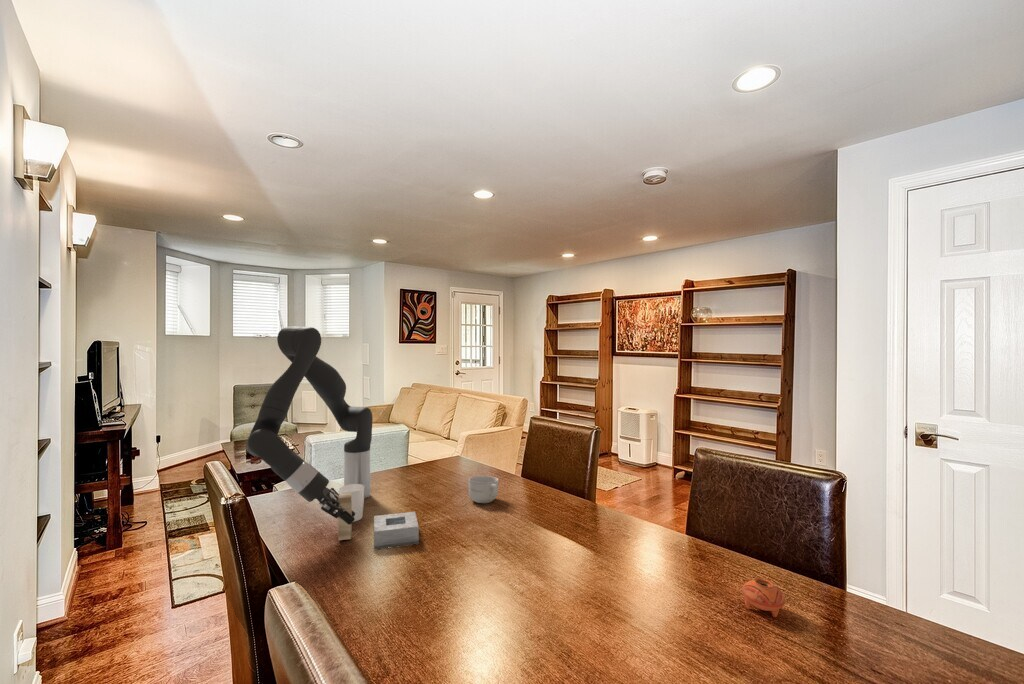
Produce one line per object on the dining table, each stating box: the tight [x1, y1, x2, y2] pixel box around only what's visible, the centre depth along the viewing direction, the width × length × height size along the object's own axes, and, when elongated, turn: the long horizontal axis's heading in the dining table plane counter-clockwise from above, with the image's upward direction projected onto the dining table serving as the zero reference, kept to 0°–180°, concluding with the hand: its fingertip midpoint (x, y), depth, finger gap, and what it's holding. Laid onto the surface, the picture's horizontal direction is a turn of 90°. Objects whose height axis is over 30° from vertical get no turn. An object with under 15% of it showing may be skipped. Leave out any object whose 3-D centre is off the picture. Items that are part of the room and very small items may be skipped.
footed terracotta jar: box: [741, 577, 786, 618], centre depth 95 cm, size 8×8×7 cm
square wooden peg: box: [337, 493, 353, 541], centre depth 131 cm, size 3×3×12 cm
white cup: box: [338, 484, 365, 523], centre depth 147 cm, size 8×8×10 cm
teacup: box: [468, 475, 499, 504], centre depth 162 cm, size 14×11×8 cm
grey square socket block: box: [373, 511, 420, 550], centre depth 131 cm, size 12×12×5 cm
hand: (352, 519), depth 132 cm, fingers closed on square wooden peg, 3 cm apart
